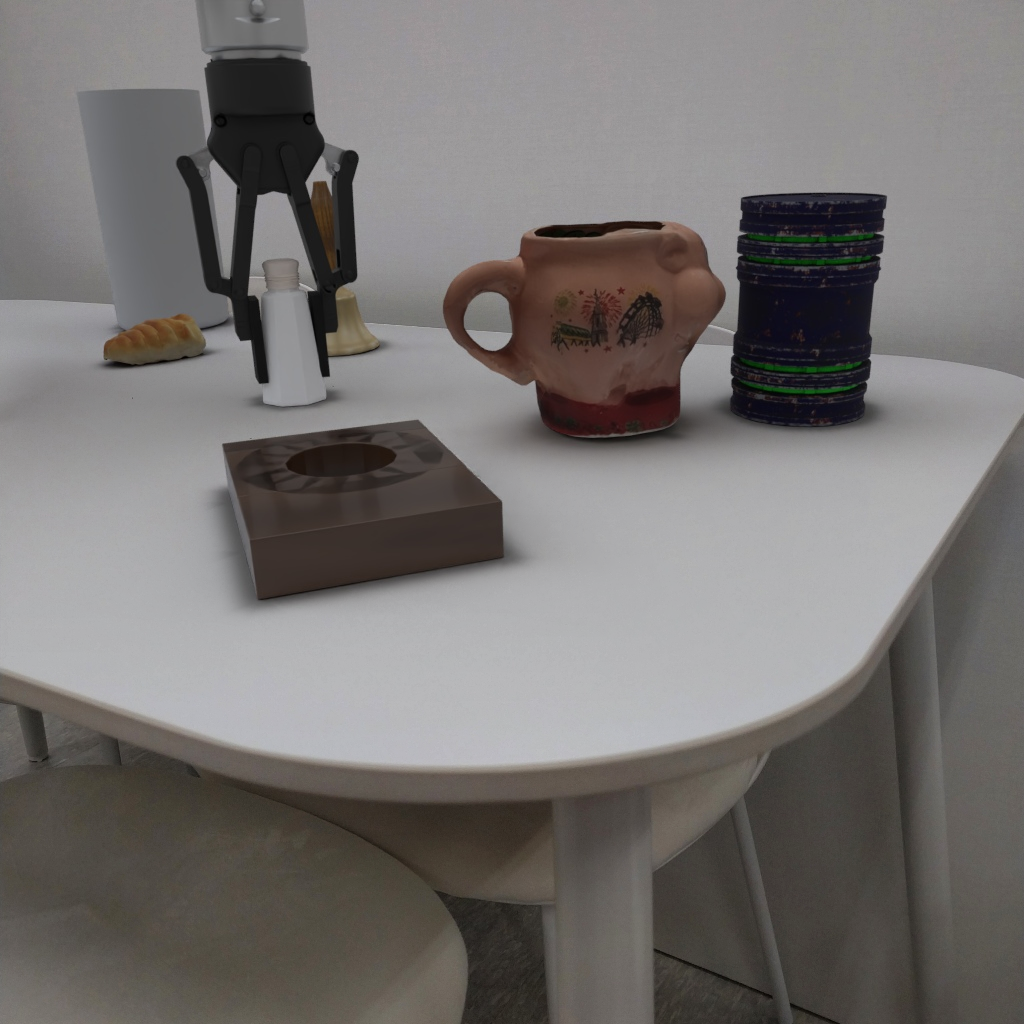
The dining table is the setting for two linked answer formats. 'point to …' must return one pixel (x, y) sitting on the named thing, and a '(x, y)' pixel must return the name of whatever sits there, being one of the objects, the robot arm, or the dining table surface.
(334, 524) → the holder
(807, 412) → the storage jar
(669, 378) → the ceramic mug
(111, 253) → the cylinder vase
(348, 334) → the hand bell
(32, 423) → the dining table surface
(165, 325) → the pastry
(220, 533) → the dining table surface
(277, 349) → the salt shaker
